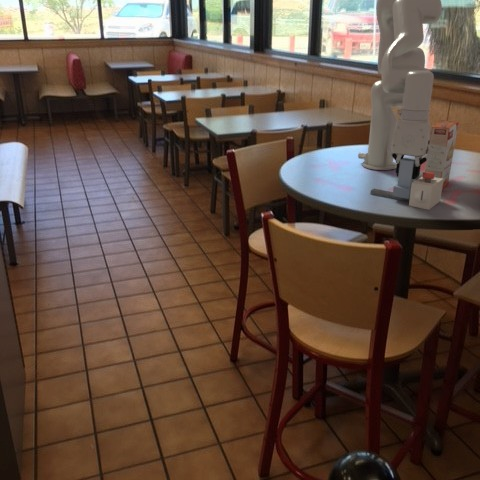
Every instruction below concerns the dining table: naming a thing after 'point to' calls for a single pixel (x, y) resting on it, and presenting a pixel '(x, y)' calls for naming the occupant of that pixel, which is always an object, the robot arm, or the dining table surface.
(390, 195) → the rail
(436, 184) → the white button housing
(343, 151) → the dining table surface
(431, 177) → the button
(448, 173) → the cracker box
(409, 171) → the carriage
